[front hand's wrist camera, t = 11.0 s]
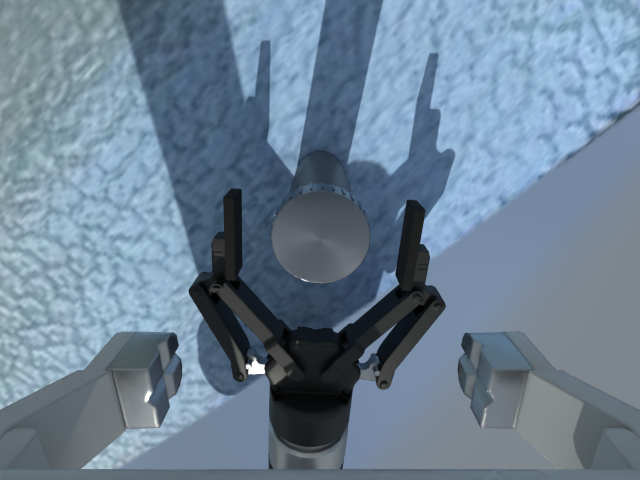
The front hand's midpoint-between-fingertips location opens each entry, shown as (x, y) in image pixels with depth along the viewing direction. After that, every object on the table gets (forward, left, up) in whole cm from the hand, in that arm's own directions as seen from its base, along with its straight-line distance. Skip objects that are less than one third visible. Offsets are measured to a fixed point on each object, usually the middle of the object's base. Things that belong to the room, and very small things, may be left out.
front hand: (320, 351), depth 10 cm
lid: (0, 0, -9) cm, 9 cm away
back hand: (0, +1, -18) cm, 18 cm away
